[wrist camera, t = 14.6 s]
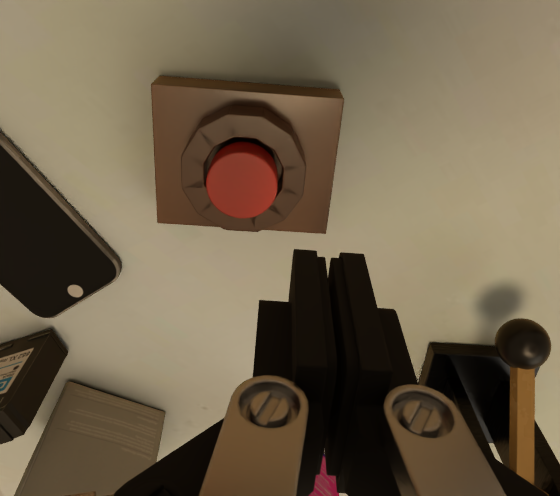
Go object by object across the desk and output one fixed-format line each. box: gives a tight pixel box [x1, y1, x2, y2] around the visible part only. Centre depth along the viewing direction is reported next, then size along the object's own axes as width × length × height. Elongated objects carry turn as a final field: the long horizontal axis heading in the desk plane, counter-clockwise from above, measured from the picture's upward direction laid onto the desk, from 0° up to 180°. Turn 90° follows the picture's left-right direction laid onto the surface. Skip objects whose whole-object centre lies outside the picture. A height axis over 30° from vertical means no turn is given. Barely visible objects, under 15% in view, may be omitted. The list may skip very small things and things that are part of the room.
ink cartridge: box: [0, 329, 68, 444], centre depth 34 cm, size 5×2×8 cm, turn 110°
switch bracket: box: [418, 343, 560, 496], centre depth 35 cm, size 9×8×12 cm
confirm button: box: [206, 142, 278, 218], centre depth 26 cm, size 4×4×2 cm
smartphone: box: [0, 132, 121, 318], centre depth 32 cm, size 8×1×15 cm
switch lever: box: [495, 319, 551, 496], centre depth 32 cm, size 13×3×3 cm
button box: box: [151, 76, 344, 234], centre depth 28 cm, size 10×8×4 cm
